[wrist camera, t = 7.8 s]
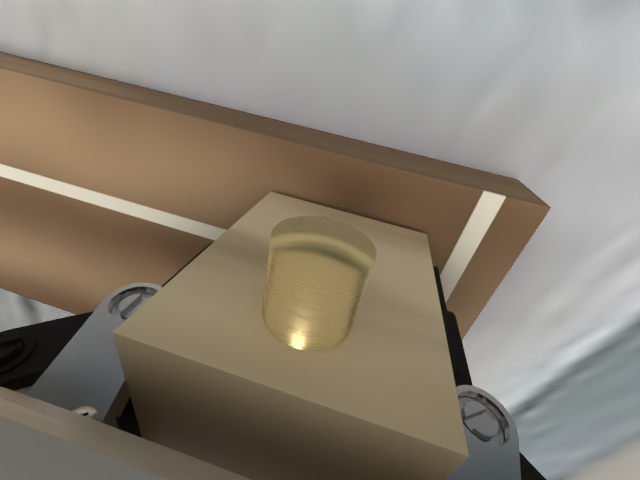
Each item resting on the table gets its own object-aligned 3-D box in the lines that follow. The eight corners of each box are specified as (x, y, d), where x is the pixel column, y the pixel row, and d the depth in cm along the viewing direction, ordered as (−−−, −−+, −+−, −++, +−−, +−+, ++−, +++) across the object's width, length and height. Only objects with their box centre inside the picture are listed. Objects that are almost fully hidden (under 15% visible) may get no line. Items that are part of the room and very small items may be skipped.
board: (402, 381, 16) (402, 428, 14) (-29, 239, 19) (-83, 260, 17) (518, 179, 10) (551, 208, 8) (-149, 15, 13) (-259, 3, 11)
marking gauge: (368, 366, 12) (346, 578, 7) (256, 329, 13) (160, 500, 7) (447, 187, 8) (538, 387, 3) (275, 144, 8) (86, 244, 3)
